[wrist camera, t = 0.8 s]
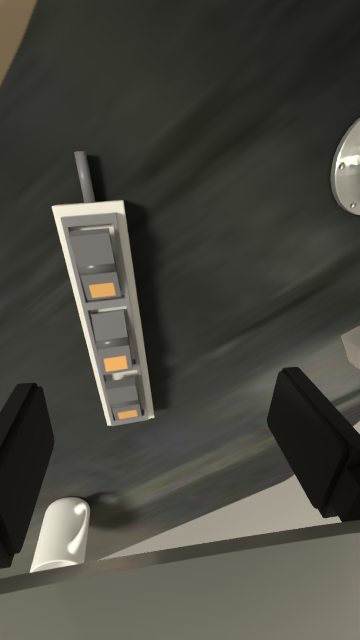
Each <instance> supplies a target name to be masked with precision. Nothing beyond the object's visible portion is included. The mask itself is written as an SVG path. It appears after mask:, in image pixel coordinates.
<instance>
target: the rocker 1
mask: <svg viewBox="0 0 360 640" xmlns="http://www.w3.org/2000/svg"><path fill="white" fill-rule="evenodd" d="M69 240H70V243H71V246H72V250H73V253H74V256H75V260H76V263H77V266H78V271H79V274H80V276H81V280H82V283H83V286H84V290H85V293H86V296H87V300H97V299H105V298H114V297H121V287H120V282H119V277H118V272H117V266H116V261H115V256H114V251H113V246H112V241H111V236H110V231H109V228H103V229H92V230H81V231H70V234H69Z"/></svg>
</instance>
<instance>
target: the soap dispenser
mask: <svg viewBox="0 0 360 640" xmlns="http://www.w3.org/2000/svg"><path fill="white" fill-rule="evenodd" d="M341 337H342V341H343V344H344V348H345V351H346V354H347V358H348V361H349V362H351V363H352V364H353V365H354V366H356V367H357V368H358V369H360V326H358V327H356V328H354V329H352V330H351V331H349V332H347V333H345V334H343V335H341Z"/></svg>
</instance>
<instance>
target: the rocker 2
mask: <svg viewBox="0 0 360 640" xmlns="http://www.w3.org/2000/svg"><path fill="white" fill-rule="evenodd" d="M91 317H92V323H93V328H94V334H95V340H96V347H97V351H98V356H99V362H100V368H101V373H102V375H103V374H109V373H116V372H122V371H129V370H133V364H132V357H131V350H130V344H129V336H128V330H127V323H126V317H125V310H124V309H119V310H111V311H103V312H95V313H92V314H91Z"/></svg>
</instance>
